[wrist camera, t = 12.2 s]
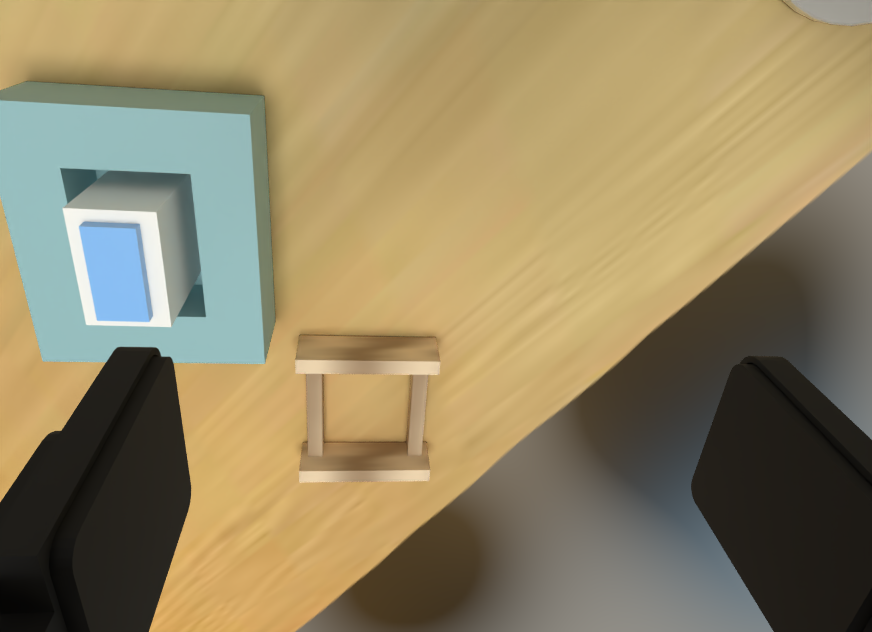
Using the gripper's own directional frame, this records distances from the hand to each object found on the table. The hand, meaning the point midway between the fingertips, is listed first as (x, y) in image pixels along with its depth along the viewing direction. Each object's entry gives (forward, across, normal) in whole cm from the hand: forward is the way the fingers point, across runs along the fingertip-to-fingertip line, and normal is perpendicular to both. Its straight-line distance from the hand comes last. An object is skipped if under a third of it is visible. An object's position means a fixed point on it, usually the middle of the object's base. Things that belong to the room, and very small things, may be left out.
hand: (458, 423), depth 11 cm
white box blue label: (+27, +13, +7) cm, 31 cm away
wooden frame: (+28, +1, +20) cm, 35 cm away
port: (+28, +13, +7) cm, 32 cm away
